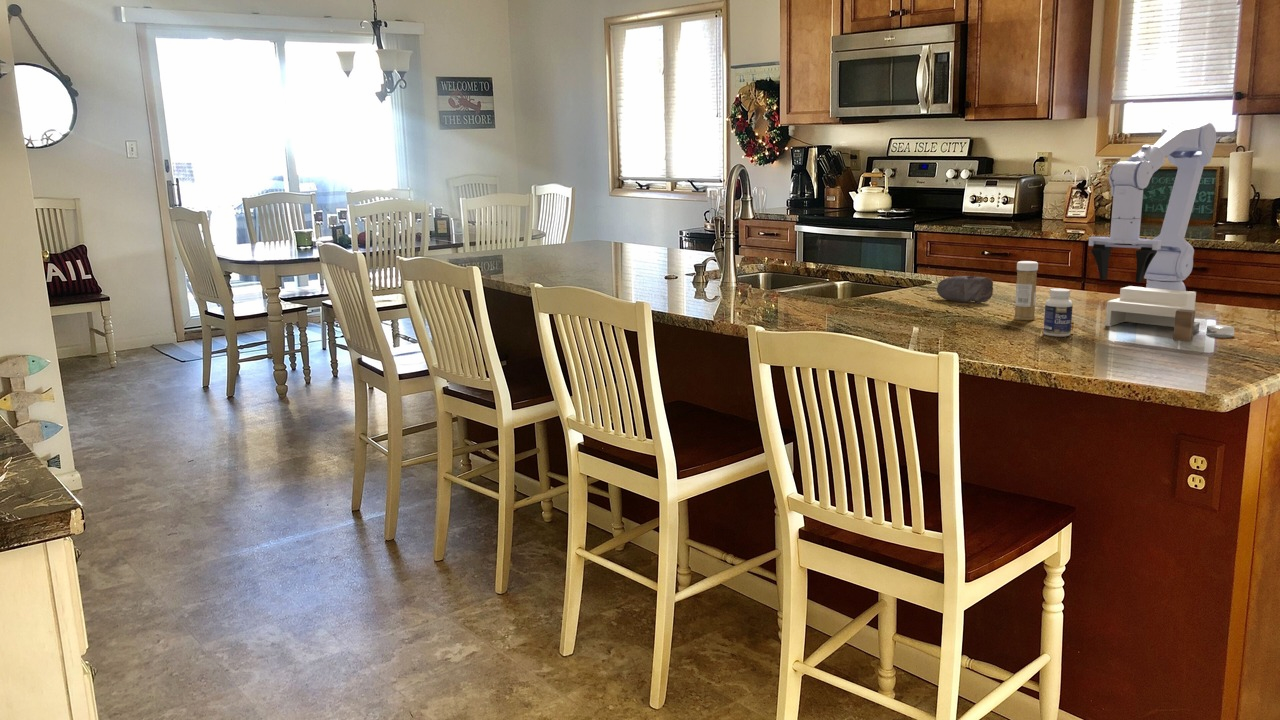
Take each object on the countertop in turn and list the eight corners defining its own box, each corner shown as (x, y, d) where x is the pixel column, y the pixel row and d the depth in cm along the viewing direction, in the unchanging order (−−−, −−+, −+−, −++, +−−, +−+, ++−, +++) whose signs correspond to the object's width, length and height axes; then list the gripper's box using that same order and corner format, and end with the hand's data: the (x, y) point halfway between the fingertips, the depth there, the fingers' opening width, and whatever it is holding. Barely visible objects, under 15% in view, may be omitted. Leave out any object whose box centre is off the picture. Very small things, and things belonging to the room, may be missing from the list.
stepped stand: (1122, 320, 231) (1125, 285, 229) (1192, 328, 220) (1196, 291, 218) (1105, 325, 225) (1108, 290, 223) (1176, 334, 214) (1180, 296, 212)
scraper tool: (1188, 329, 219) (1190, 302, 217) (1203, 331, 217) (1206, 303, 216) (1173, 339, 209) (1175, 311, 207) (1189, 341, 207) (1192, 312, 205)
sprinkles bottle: (1038, 319, 234) (1042, 261, 231) (1026, 321, 231) (1030, 263, 229) (1021, 316, 238) (1025, 259, 235) (1009, 319, 235) (1012, 261, 232)
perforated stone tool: (931, 300, 265) (932, 273, 264) (942, 297, 268) (943, 271, 267) (983, 306, 254) (984, 279, 252) (994, 304, 257) (995, 276, 256)
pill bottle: (1054, 337, 213) (1057, 292, 211) (1037, 333, 218) (1040, 288, 216) (1076, 336, 214) (1079, 290, 212) (1059, 331, 219) (1062, 287, 217)
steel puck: (1208, 333, 215) (1209, 324, 215) (1235, 335, 212) (1236, 326, 212) (1203, 336, 212) (1204, 327, 211) (1231, 339, 209) (1232, 330, 208)
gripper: (1084, 217, 220) (1079, 279, 222) (1153, 220, 209) (1148, 285, 212) (1098, 215, 224) (1093, 276, 227) (1167, 218, 214) (1161, 282, 217)
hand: (1121, 280), depth 220 cm, fingers open, 7 cm apart
